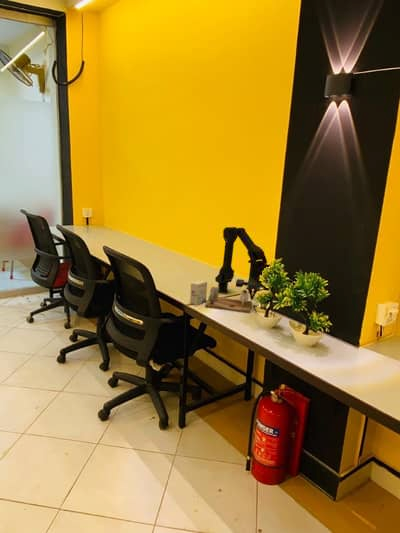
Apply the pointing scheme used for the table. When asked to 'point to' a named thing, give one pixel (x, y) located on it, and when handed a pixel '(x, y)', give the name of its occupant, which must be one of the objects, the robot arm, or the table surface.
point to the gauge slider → (244, 296)
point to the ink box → (198, 292)
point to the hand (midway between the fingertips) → (251, 299)
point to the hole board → (229, 304)
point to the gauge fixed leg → (214, 293)
